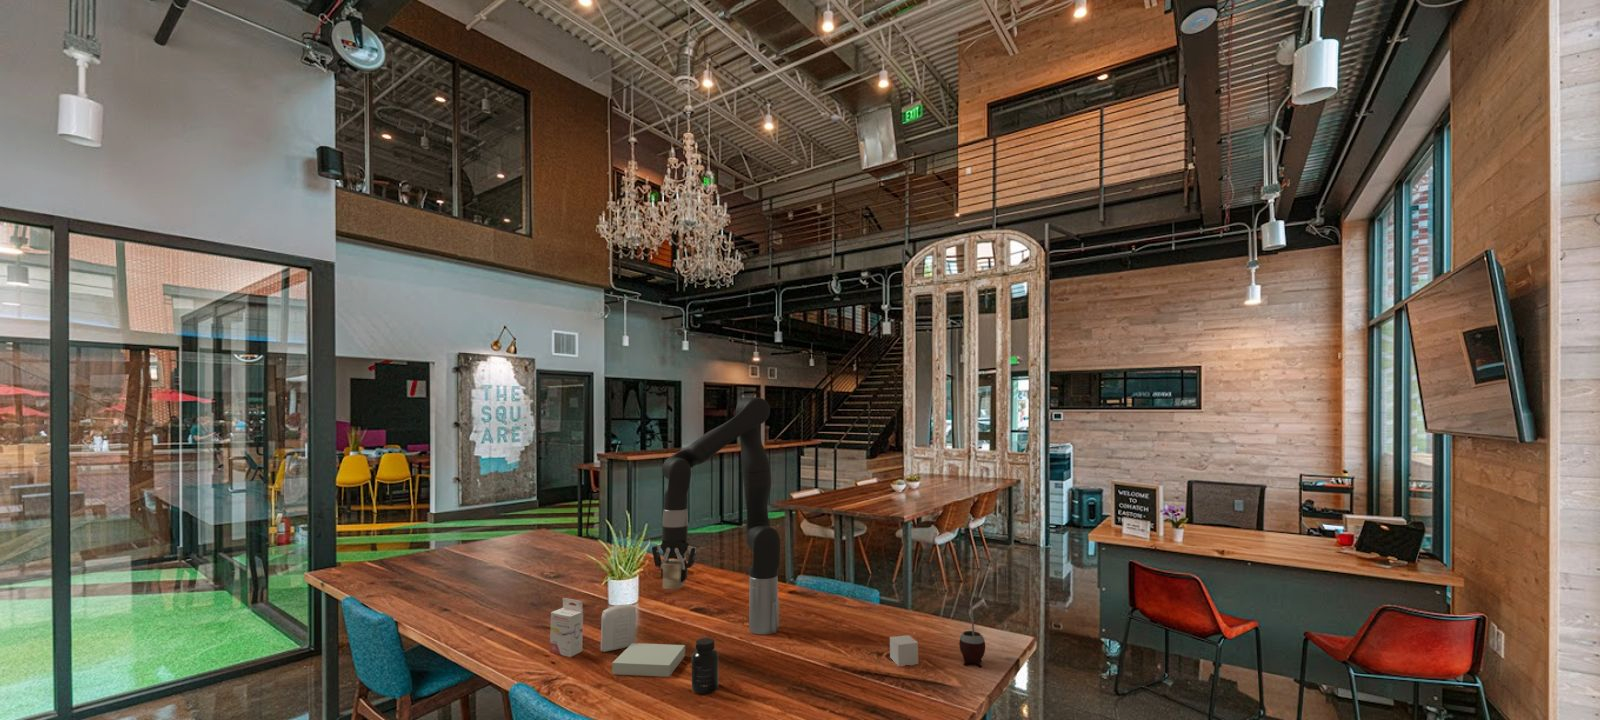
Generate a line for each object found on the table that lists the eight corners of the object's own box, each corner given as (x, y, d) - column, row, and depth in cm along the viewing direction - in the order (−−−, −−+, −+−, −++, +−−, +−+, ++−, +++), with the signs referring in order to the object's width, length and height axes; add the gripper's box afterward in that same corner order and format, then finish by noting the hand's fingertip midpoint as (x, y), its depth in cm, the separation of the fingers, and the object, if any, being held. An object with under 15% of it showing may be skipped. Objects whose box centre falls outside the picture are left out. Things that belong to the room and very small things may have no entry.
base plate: (685, 655, 180) (685, 645, 180) (669, 676, 166) (669, 665, 166) (632, 653, 181) (632, 643, 182) (612, 674, 168) (612, 662, 168)
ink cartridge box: (548, 652, 182) (549, 601, 184) (561, 646, 187) (562, 597, 188) (570, 657, 179) (571, 605, 180) (583, 651, 183) (584, 600, 184)
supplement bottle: (692, 683, 162) (693, 636, 163) (719, 682, 162) (719, 635, 163) (690, 695, 155) (690, 646, 156) (717, 694, 155) (717, 645, 156)
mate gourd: (972, 670, 169) (970, 614, 170) (952, 660, 176) (951, 606, 177) (992, 665, 172) (990, 609, 173) (972, 655, 179) (971, 602, 180)
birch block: (685, 583, 189) (685, 560, 190) (678, 589, 183) (679, 565, 184) (669, 582, 190) (669, 559, 190) (662, 588, 184) (663, 564, 184)
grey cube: (909, 656, 179) (909, 635, 179) (918, 664, 173) (918, 642, 173) (889, 658, 177) (889, 637, 178) (898, 667, 171) (898, 644, 172)
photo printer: (632, 641, 191) (633, 600, 192) (637, 646, 187) (637, 604, 188) (598, 649, 185) (599, 606, 186) (602, 653, 182) (603, 610, 182)
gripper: (701, 522, 191) (700, 578, 189) (656, 521, 193) (655, 576, 191) (694, 526, 183) (693, 585, 182) (647, 525, 185) (646, 583, 184)
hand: (673, 580), depth 187 cm, fingers closed on birch block, 5 cm apart
